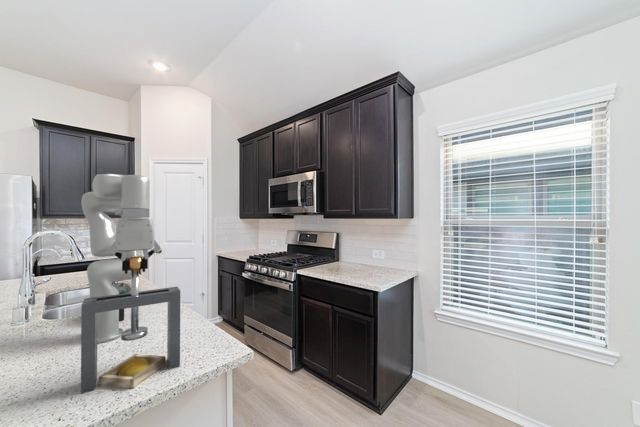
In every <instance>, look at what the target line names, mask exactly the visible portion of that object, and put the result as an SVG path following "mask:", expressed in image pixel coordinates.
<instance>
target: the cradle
mask: <svg viewBox="0 0 640 427" xmlns="http://www.w3.org/2000/svg"><path fill="white" fill-rule="evenodd" d="M137 358H140V359H145V360H146V361H148V363H149V364H150V365H149V366H148V367H146V368H145V369H144V370H142V371H141V372H140V373H138V374H137V375H135V376H134V377H128V376H119V370H120V368H121V367H122V366H123V365H124V364H125V363H127V362H128V361H130V360H133V359H137ZM164 365H166V355H165V356H164V355H153V354H142V353H141V354H140V353H134V354H133V355H131V356H129V357H128V358H127V359H124V360H123V361H122V362H119V363H118V364H116V365H115V366H114V367H112V368H110V369H108V370H107V371H105V372H104V373H102V374H101V375H99V376H98V385H99V386H104V387H105V386H106V387H115V388H126V389H135V388H136V387H137V386H139V385H140V384H141V383H143V382H144V381H145V380H147V379H148V378H149V377H150V376H152V375H153V374H154V373H155V372H157V371H158V370H160V369H161V368H162V367H163V366H164Z"/></svg>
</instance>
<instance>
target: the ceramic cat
mask: <svg viewBox="0 0 640 427" xmlns="http://www.w3.org/2000/svg"><path fill="white" fill-rule="evenodd" d="M118 283H119V281H117V282H113V283H111V284H112V285H113V286H114V287H115V288H117V290H118V291H119V294H124V293H127V287H126V285H125V284H124V282H121V283H120V284H118ZM123 320H125V309H119V322H123Z"/></svg>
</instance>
